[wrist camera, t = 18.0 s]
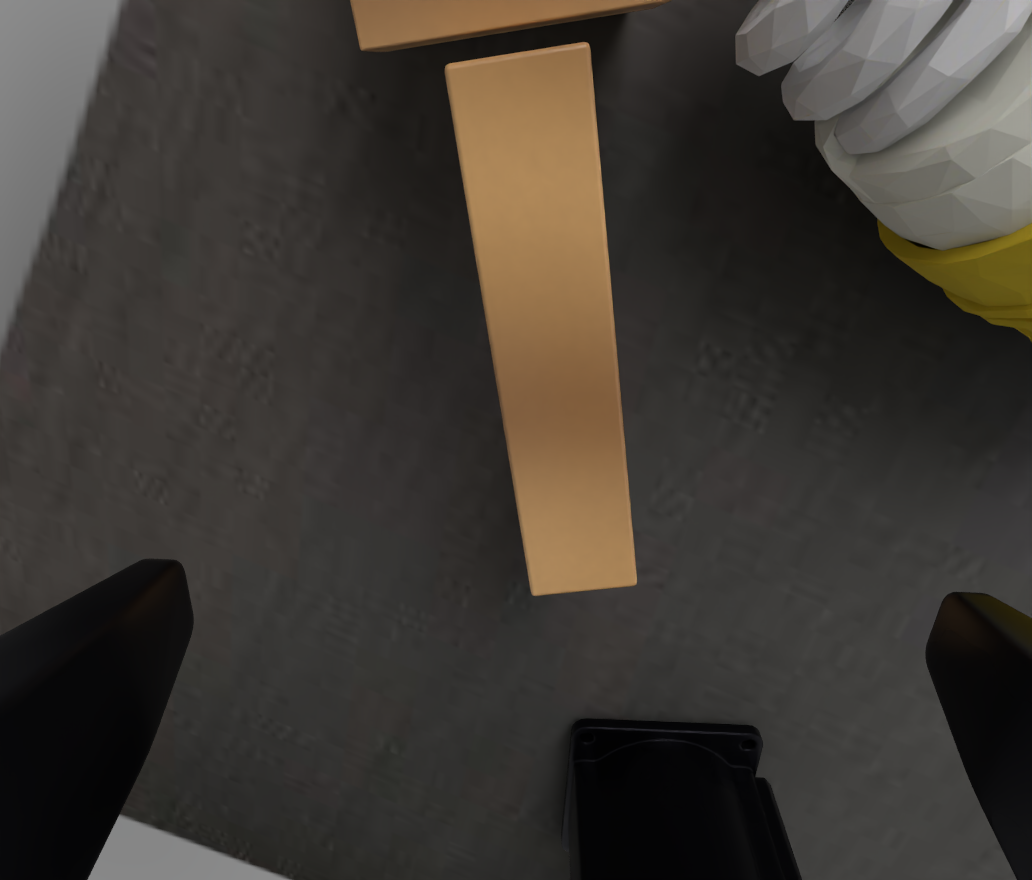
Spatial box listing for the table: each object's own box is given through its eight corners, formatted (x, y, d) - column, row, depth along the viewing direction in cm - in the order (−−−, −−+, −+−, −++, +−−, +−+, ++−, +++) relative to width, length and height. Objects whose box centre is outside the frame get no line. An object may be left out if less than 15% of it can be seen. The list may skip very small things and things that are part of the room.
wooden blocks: (362, -178, 15) (254, -328, 9) (620, -227, 15) (678, -415, 9) (479, 457, 22) (460, 605, 16) (661, 436, 21) (712, 579, 15)
